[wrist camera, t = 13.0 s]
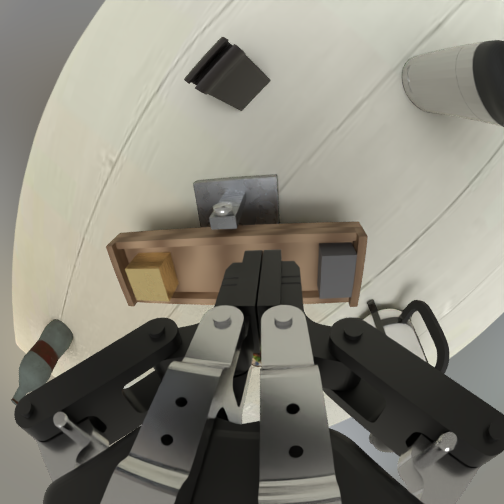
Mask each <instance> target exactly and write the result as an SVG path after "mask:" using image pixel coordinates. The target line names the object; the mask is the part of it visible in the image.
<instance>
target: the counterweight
mask: <svg viewBox="0 0 504 504" xmlns="http://www.w3.org/2000/svg"><path fill="white" fill-rule="evenodd" d="M356 259H357V254H356V252H355V249H354V247H353V245H352V243H351V242H344V243H319V256H318V279H317V286H318V292H319V299H329V298H349V297H351V296H352V289H353V282H354V275H355V268H356Z"/></svg>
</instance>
